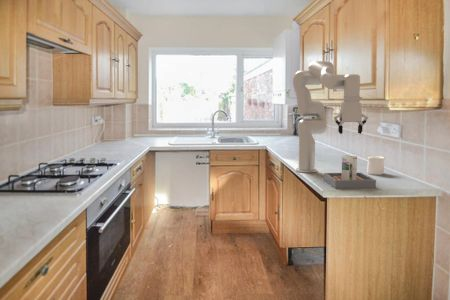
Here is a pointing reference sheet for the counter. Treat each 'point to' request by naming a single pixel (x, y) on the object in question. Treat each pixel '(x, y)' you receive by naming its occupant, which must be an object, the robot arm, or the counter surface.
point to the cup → (375, 165)
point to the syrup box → (349, 167)
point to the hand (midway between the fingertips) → (350, 133)
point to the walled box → (349, 181)
